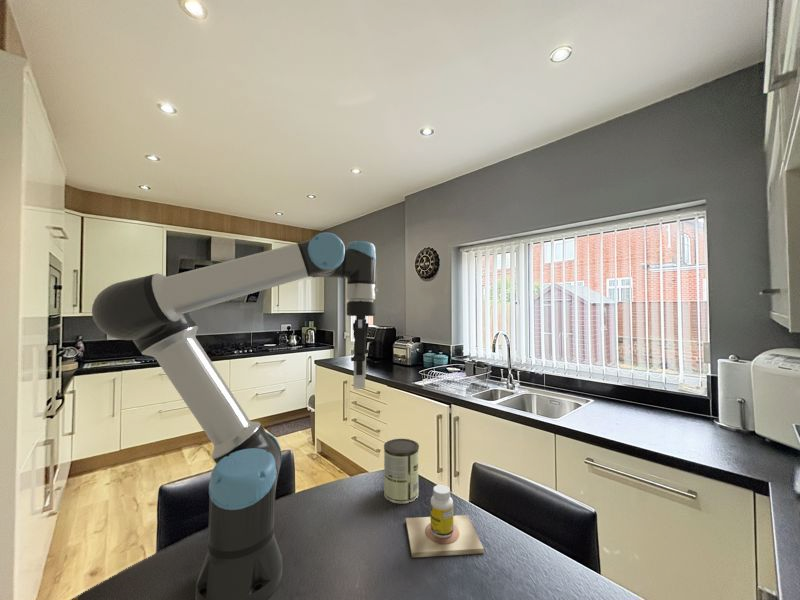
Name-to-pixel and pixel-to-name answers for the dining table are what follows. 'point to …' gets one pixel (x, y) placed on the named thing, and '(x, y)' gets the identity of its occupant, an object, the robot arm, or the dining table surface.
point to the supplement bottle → (441, 512)
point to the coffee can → (401, 470)
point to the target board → (431, 545)
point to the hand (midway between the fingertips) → (360, 382)
